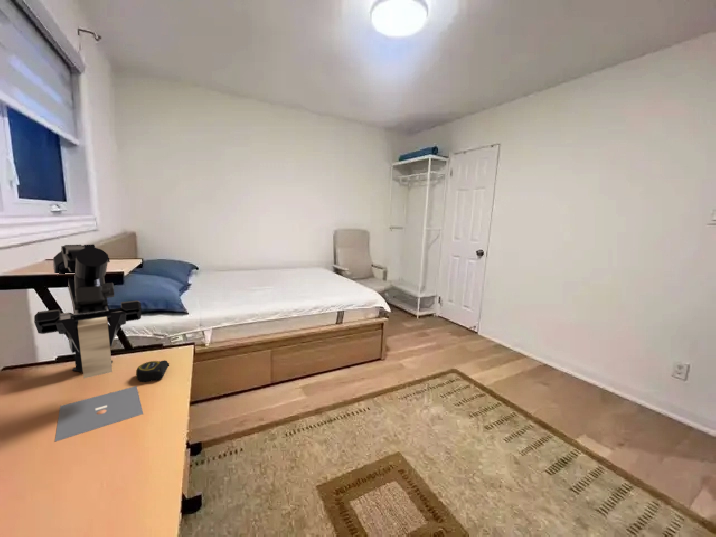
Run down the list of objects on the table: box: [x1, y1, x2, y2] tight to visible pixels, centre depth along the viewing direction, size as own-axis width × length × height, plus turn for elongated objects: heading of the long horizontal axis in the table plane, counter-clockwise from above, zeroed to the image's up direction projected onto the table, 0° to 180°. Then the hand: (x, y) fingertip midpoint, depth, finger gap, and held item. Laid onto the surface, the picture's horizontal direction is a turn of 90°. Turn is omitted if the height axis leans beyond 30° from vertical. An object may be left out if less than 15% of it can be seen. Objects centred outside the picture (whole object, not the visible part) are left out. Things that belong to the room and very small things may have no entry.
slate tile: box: [54, 385, 144, 442], centre depth 69 cm, size 14×14×1 cm
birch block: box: [78, 317, 113, 379], centre depth 71 cm, size 5×5×12 cm
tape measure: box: [135, 359, 170, 383], centre depth 83 cm, size 7×7×4 cm
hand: (95, 348), depth 70 cm, fingers closed on birch block, 5 cm apart
